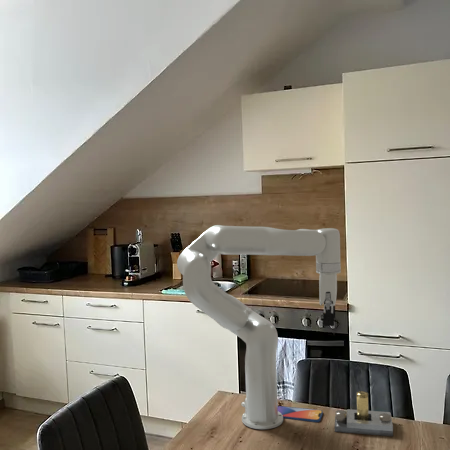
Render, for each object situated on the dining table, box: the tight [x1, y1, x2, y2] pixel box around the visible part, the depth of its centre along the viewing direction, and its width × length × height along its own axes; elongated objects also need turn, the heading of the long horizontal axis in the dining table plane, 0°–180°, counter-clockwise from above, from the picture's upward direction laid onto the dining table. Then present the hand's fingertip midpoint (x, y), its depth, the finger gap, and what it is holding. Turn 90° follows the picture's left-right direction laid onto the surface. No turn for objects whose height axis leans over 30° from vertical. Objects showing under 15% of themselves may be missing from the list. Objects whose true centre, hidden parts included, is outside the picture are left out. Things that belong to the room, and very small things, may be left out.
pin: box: [356, 390, 369, 421], centre depth 145 cm, size 3×3×10 cm
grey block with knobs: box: [334, 408, 394, 437], centre depth 145 cm, size 16×9×4 cm, turn 75°
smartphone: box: [278, 405, 324, 423], centre depth 155 cm, size 7×15×1 cm, turn 70°
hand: (329, 321), depth 156 cm, fingers open, 9 cm apart
